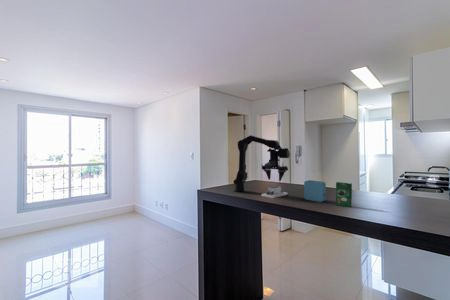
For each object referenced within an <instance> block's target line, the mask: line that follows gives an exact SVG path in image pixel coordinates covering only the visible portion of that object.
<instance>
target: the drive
mask: <svg viewBox="0 0 450 300" xmlns="http://www.w3.org/2000/svg"><path fill="white" fill-rule="evenodd" d="M281 189H282V187H281V185H279V186H278V185H273V186H269V187H267V191H268V194H270V192H272V195H276V194H279V193H281Z"/></svg>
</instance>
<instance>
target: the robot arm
mask: <svg viewBox="0 0 450 300" xmlns="http://www.w3.org/2000/svg"><path fill="white" fill-rule="evenodd" d="M252 142H253V143H254V142H255V143H258V144H261V145H264V146H266V147H267V148H268V149H267V151H266V152H269V159H268V162H266V163H265V164H264V165H262V166H261V170H262V171H263V172H265V174H266V177H267V179H268V180H271V176H272V175H271V172H272V170H278V171H277V172H278V176H279V177H278V181H280V182H281V181H282V179H283V177H284V175H285V172H287V171H288V170H289V168H288V166H286V165H279V162H280V159H289V158H290V156H291V154H290V153H291V152H290V150H289V148H288V147H286V148H282V147H281V145H280V142H279V141H278V140H275V139H265V138H262V137H258V136H255V135H248V136H247V137H244V138H243V139H240V140H238V141H237V149H238V151H239V154H238V156H239V157H238V158H239V159H238V171H237V173H236V178H234V179H233V180H232V181H233V184H234V185H235V186H234V190H233V192H236V193H243V192H246V190H245V185H244V184H245V182H246V180H247V179H248V172H247V171H246V152H247V150H248V148H249V145H250V144H251V143H252Z"/></svg>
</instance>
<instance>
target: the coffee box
mask: <svg viewBox="0 0 450 300" xmlns="http://www.w3.org/2000/svg"><path fill="white" fill-rule="evenodd" d="M352 195H353V183H352V182H343V181H342V182H339V181H336V182H335V206H340V207H346V208H347V207H348V208H352V205H353V203H352V202H353V199H352V198H353V196H352Z"/></svg>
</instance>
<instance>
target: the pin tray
mask: <svg viewBox="0 0 450 300" xmlns="http://www.w3.org/2000/svg"><path fill="white" fill-rule="evenodd" d="M288 194H289V193H288V192H285V191H284V190H283V188H281V193H279V194H276V195H272V192H270V194H268V190H266V192H265V193H261V197H266V198H269V199H275V198H278V197H283V196H287V195H288Z"/></svg>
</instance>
